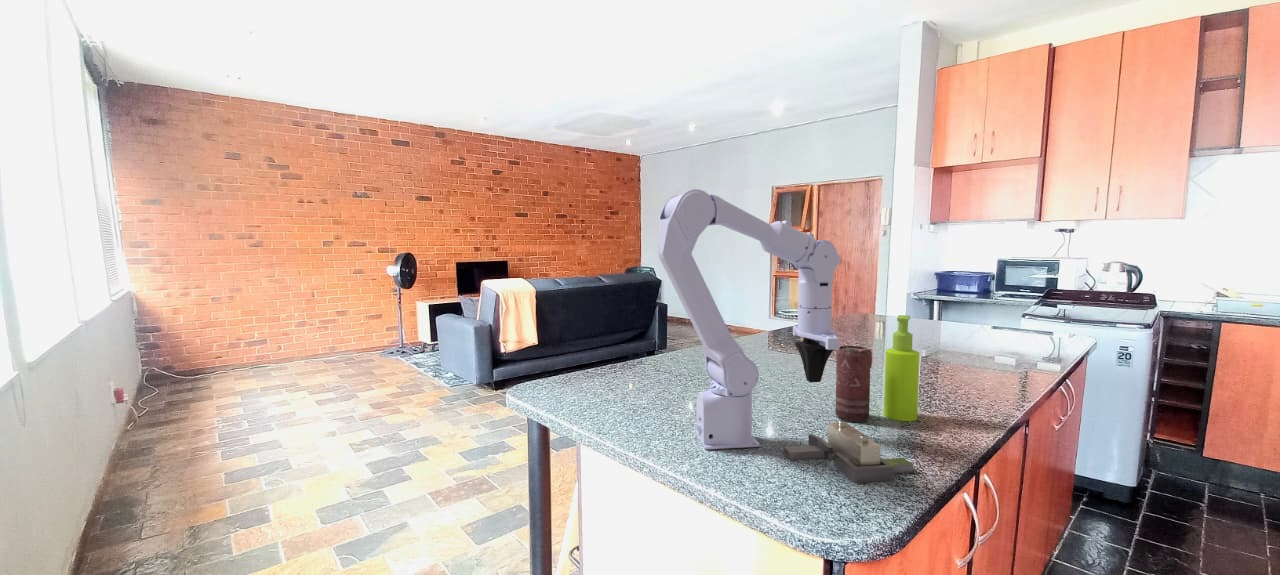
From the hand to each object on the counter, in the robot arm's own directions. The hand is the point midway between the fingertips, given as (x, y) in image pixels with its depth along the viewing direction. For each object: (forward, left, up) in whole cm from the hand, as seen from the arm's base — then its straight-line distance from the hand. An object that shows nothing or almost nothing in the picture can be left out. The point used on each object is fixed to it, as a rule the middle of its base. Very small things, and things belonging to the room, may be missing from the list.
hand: (813, 381), depth 90 cm
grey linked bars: (0, -13, -9) cm, 16 cm away
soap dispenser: (+21, +6, -10) cm, 24 cm away
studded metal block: (0, -14, -10) cm, 17 cm away
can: (+11, +6, -10) cm, 16 cm away
